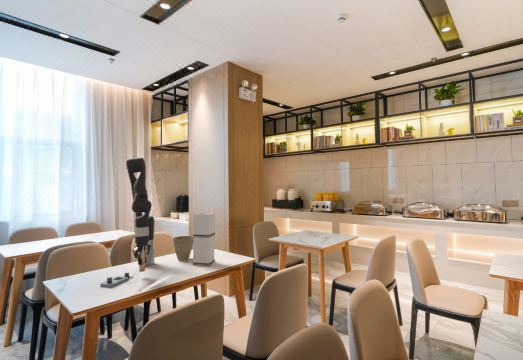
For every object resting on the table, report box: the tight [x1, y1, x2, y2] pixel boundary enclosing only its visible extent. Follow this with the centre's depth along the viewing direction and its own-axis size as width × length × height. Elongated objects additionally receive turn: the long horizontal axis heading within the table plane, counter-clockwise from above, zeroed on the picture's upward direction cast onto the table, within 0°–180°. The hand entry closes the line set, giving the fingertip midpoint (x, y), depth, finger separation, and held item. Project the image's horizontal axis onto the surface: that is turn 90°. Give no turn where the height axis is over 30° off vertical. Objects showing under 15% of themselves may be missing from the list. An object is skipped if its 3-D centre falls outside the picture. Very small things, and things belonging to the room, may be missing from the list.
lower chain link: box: [121, 272, 134, 284], centre depth 164 cm, size 12×7×4 cm, turn 164°
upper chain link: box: [100, 275, 128, 288], centre depth 159 cm, size 12×7×6 cm, turn 164°
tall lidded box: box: [192, 212, 216, 267], centre depth 201 cm, size 11×11×35 cm
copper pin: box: [138, 250, 146, 273], centre depth 168 cm, size 3×3×12 cm
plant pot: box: [172, 235, 193, 262], centre depth 212 cm, size 15×15×16 cm
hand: (142, 263), depth 168 cm, fingers closed on copper pin, 3 cm apart
